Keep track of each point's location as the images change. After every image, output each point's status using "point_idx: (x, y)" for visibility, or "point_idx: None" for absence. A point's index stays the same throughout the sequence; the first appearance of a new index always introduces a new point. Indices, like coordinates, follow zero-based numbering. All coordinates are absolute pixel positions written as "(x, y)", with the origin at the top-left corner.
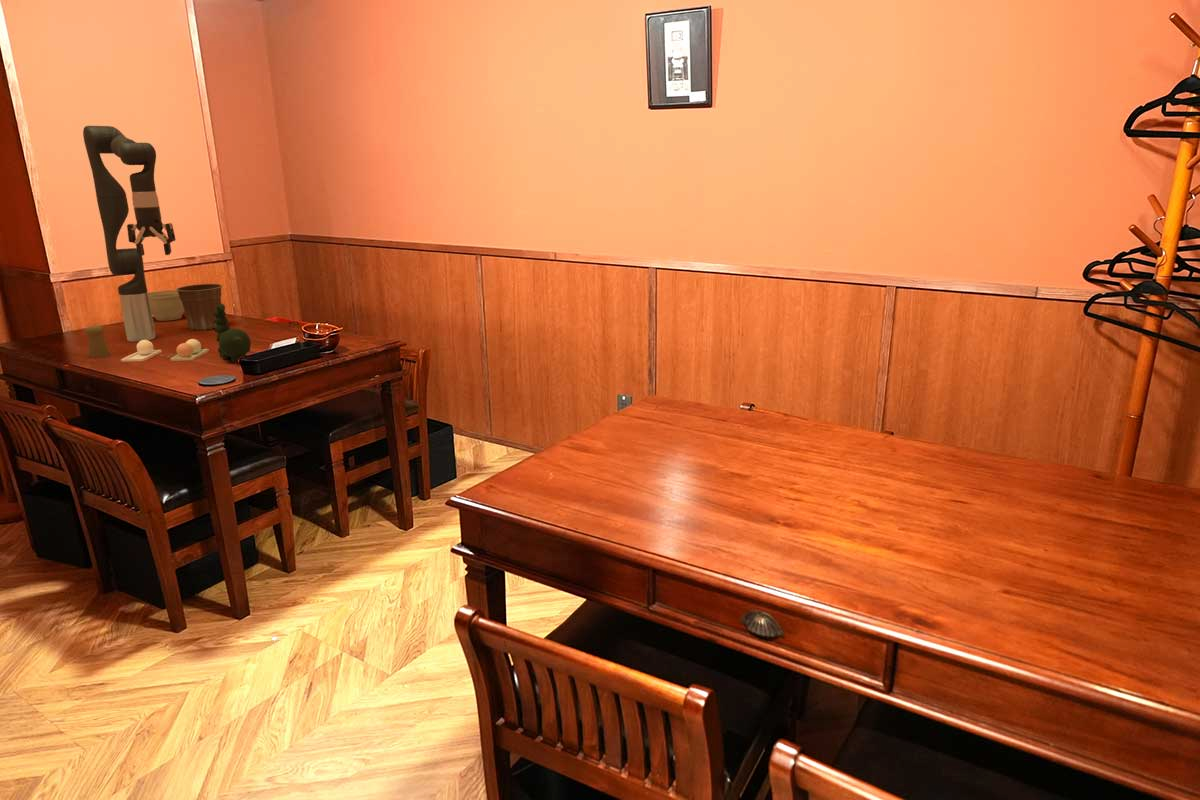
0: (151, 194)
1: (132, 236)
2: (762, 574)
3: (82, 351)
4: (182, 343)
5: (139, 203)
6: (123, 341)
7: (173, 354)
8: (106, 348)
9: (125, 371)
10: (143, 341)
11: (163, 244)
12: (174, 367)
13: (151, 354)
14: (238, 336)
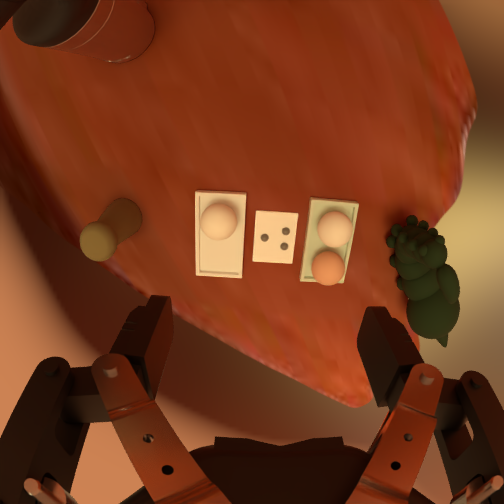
0: None
1: (78, 448)
2: None
3: (59, 157)
4: (329, 278)
5: None
6: (93, 58)
7: (289, 232)
8: (132, 223)
9: (239, 329)
10: (219, 235)
11: (377, 404)
12: (319, 315)
13: (242, 239)
14: (446, 334)
